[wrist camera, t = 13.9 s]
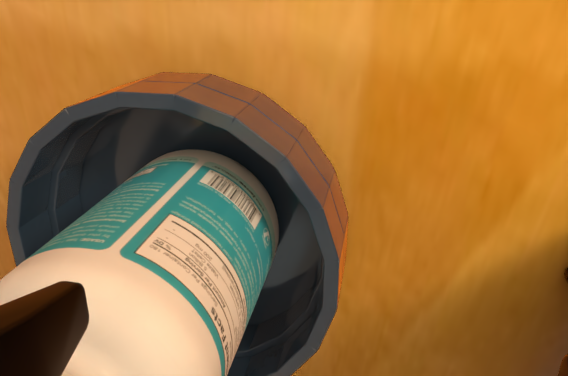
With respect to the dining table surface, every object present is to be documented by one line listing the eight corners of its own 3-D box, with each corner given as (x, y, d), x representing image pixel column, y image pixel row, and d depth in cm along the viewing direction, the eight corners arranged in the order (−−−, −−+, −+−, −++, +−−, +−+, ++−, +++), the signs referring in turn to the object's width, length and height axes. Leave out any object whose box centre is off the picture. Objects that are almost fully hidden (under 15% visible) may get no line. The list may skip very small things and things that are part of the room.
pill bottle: (133, 264, 25) (-107, 527, 13) (136, 128, 22) (-173, 310, 10) (272, 299, 24) (153, 617, 12) (296, 163, 21) (168, 409, 9)
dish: (414, 205, 22) (419, 258, 18) (240, 377, 28) (214, 446, 24) (151, 0, 20) (91, 6, 16) (30, 227, 26) (-36, 272, 22)
